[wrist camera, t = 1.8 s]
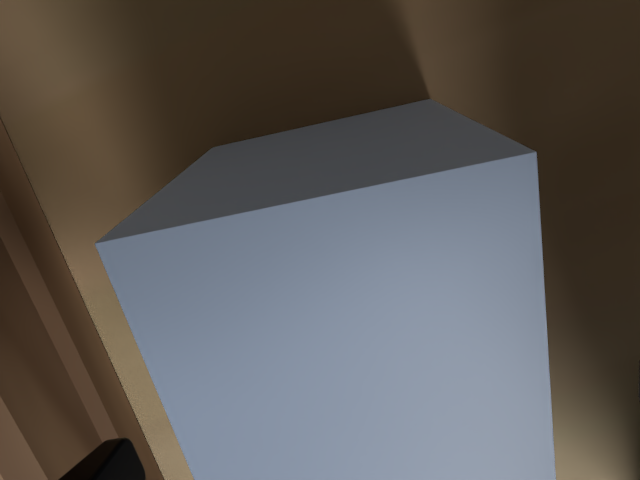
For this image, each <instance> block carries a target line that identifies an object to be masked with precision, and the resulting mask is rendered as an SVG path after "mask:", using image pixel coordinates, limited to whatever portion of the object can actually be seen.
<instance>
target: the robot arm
mask: <svg viewBox="0 0 640 480" xmlns="http://www.w3.org/2000/svg"><path fill="white" fill-rule="evenodd" d="M638 397H639V402H640V361H639V382H638ZM58 480H146V473H145V469H144V466H143V464H142V462H141V460H140V458H139V456H138V454H137V451H136V449H135V447H134V445H133V443H132V441H131V440H130V439H129V438H126V437H122V438H115V439H109V440H106V441H104V442H103V443H101V444H100V445H99V446H98V447H97V448H95V449H94V450H93V451H92V452H91V453H89V454H88V455H87V456H86V457H85V458H83V459H82V460H81V461H80V462H79V463H77V464H76V465H75V466H74V467H73V468H71V469H70V470H69V471H68V472H67V473H65V474H64V475H63V476H62V477H61V478H59V479H58Z"/></svg>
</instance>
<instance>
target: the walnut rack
mask: <svg viewBox="0 0 640 480" xmlns="http://www.w3.org/2000/svg"><path fill="white" fill-rule="evenodd" d="M122 437H126V438H129V439H130V440H131V441H132V443H133V445H134V447H135V449H136V451H137V454H138V456H139V458H140V460H141V462H142V464H143V466H144V469H145V473H146V480H164V479H163V477H162V474H161V472H160V470H159V468H158V466H157V463H156V461H155V459H154V457H153V455H152V452H151V450H150V448H149V446H148V443H147V441H146V439H145V437H144V435H143V432H142V430H141V428H140V426H139V424H138V421H137V419H136V417H135V415H134V413H133V410H132V408H131V406H130V404H129V402H128V399H127V397H126V395H125V393H124V390H123V388H122V386H121V384H120V382H119V379H118V377H117V375H116V373H115V371H114V368H113V366H112V364H111V362H110V360H109V357H108V355H107V353H106V351H105V348H104V346H103V344H102V342H101V340H100V337H99V335H98V333H97V331H96V329H95V326H94V324H93V322H92V320H91V318H90V315H89V313H88V311H87V309H86V306H85V304H84V302H83V300H82V298H81V295H80V293H79V291H78V289H77V287H76V284H75V282H74V280H73V278H72V276H71V273H70V271H69V269H68V267H67V264H66V262H65V260H64V258H63V256H62V253H61V251H60V249H59V247H58V245H57V242H56V240H55V238H54V236H53V234H52V231H51V229H50V227H49V225H48V222H47V220H46V218H45V216H44V214H43V211H42V209H41V207H40V205H39V203H38V200H37V198H36V196H35V194H34V192H33V189H32V187H31V185H30V183H29V181H28V178H27V176H26V174H25V172H24V169H23V167H22V165H21V163H20V161H19V158H18V156H17V154H16V152H15V150H14V147H13V145H12V143H11V141H10V139H9V136H8V134H7V132H6V130H5V127H4V125H3V123H2V121H1V119H0V480H58V479H59V478H61V477H62V476H63V475H64V474H65V473H67V472H68V471H69V470H70V469H71V468H73V467H74V466H75V465H76V464H77V463H79V462H80V461H81V460H82V459H83V458H85V457H86V456H87V455H88V454H89V453H91V452H92V451H93V450H94V449H95V448H97V447H98V446H99V445H100V444H101V443H103V442H104V441H106V440H109V439H115V438H122Z"/></svg>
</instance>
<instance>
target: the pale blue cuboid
mask: <svg viewBox="0 0 640 480" xmlns="http://www.w3.org/2000/svg"><path fill="white" fill-rule="evenodd" d="M95 246H96V248H97V250H98V253H99V255H100V258H101V260H102V262H103V265H104V267H105V269H106V272H107V274H108V276H109V279H110V281H111V284H112V286H113V288H114V291H115V293H116V295H117V298H118V300H119V302H120V305H121V307H122V310H123V312H124V314H125V317H126V319H127V321H128V324H129V326H130V329H131V331H132V333H133V336H134V338H135V340H136V343H137V345H138V347H139V350H140V352H141V355H142V357H143V359H144V362H145V364H146V366H147V369H148V371H149V373H150V376H151V378H152V381H153V383H154V385H155V388H156V390H157V392H158V395H159V397H160V400H161V402H162V404H163V407H164V409H165V411H166V414H167V416H168V418H169V421H170V423H171V426H172V428H173V430H174V433H175V435H176V437H177V440H178V442H179V445H180V447H181V449H182V452H183V454H184V456H185V459H186V461H187V463H188V466H189V468H190V471H191V473H192V475H193V478H194V480H556V474H555V457H554V440H553V423H552V406H551V389H550V372H549V355H548V338H547V321H546V304H545V287H544V270H543V253H542V236H541V219H540V202H539V185H538V168H537V152H536V151H534V150H532V149H530V148H528V147H526V146H524V145H522V144H520V143H518V142H516V141H514V140H512V139H510V138H508V137H506V136H504V135H502V134H500V133H498V132H496V131H494V130H492V129H490V128H488V127H486V126H484V125H482V124H480V123H478V122H476V121H474V120H472V119H470V118H468V117H466V116H464V115H462V114H460V113H458V112H456V111H454V110H452V109H450V108H448V107H446V106H444V105H442V104H440V103H438V102H436V101H434V100H432V99H427V100H423V101H418V102H414V103H409V104H405V105H400V106H396V107H391V108H387V109H382V110H378V111H373V112H369V113H364V114H360V115H355V116H351V117H347V118H342V119H338V120H333V121H329V122H324V123H320V124H315V125H311V126H306V127H302V128H297V129H293V130H288V131H284V132H279V133H275V134H270V135H266V136H261V137H257V138H252V139H248V140H243V141H239V142H234V143H230V144H226V145H221V146H217V147H212V148H211V149H210V150H209V151H207V152H206V153H205V154H204V155H203V156H201V157H200V158H199V159H198V160H196V161H195V162H194V163H193V164H191V165H190V166H189V167H188V168H187V169H185V170H184V171H183V172H182V173H180V174H179V175H178V176H177V177H176V178H174V179H173V180H172V181H171V182H169V183H168V184H167V185H166V186H165V187H163V188H162V189H161V190H160V191H158V192H157V193H156V194H155V195H154V196H152V197H151V198H150V199H149V200H147V201H146V202H145V203H144V204H142V205H141V206H140V207H139V208H138V209H136V210H135V211H134V212H133V213H131V214H130V215H129V216H128V217H127V218H125V219H124V220H123V221H122V222H120V223H119V224H118V225H117V226H116V227H114V228H113V229H112V230H111V231H109V232H108V233H107V234H106V235H105V236H103V237H102V238H101V239H100V240H98V241H97V242H96V243H95Z"/></svg>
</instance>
